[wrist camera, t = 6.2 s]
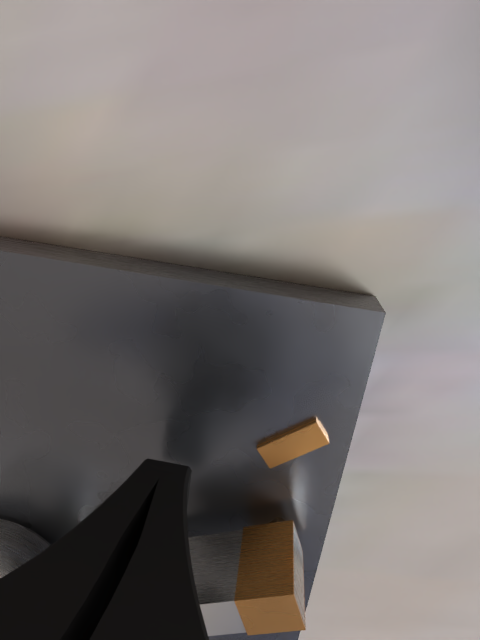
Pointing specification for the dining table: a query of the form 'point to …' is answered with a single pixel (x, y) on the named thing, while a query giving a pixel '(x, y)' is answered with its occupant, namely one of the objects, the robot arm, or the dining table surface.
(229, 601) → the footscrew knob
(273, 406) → the grey flat square slab
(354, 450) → the dining table surface
